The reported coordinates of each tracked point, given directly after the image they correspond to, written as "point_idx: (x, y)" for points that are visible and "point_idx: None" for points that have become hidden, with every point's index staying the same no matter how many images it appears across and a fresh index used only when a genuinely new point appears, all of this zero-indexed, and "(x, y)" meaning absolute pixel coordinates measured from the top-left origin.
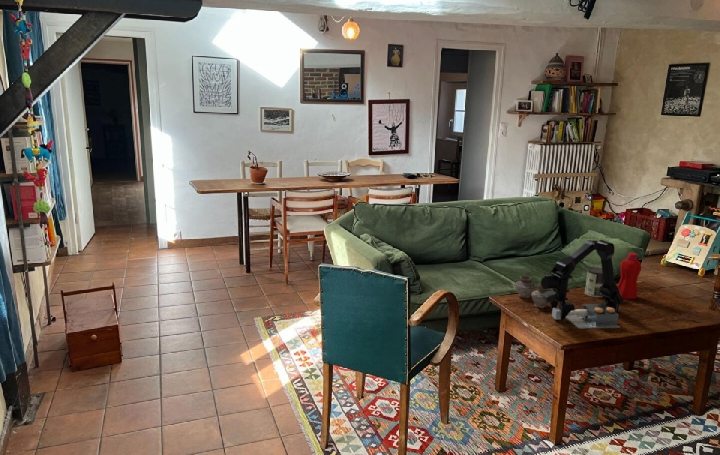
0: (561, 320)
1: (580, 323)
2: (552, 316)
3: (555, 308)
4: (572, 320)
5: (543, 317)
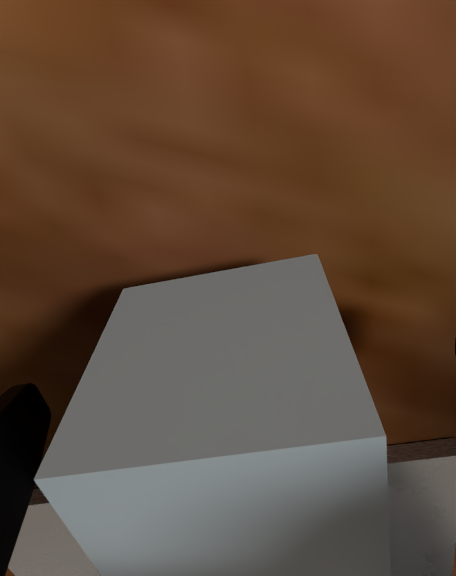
0: (15, 389)
1: None
2: (274, 265)
3: (318, 504)
4: None
5: (364, 35)
